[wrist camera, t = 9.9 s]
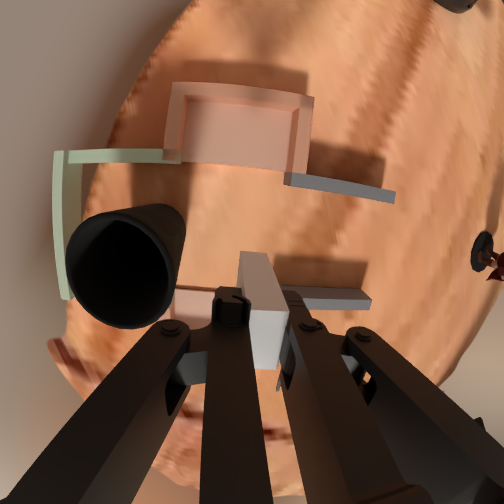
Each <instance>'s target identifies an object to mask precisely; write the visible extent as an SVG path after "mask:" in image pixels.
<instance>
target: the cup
mask: <svg viewBox="0 0 504 504" xmlns="http://www.w3.org/2000/svg"><path fill="white" fill-rule="evenodd" d="M185 236H186V228H185V223H184V221H183V218H182V217H181V215H180V214H179V213H178V212H177V211H176V210H175V209H174V208H172V207H170V206H168V205H165V204H150V205H144V206H138V207H132V208H126V209H121V210H115V211H110V212H104V213H100V214H97V215H95V216H92V217H89V218H88V219H86V220H85V221H84V222H82V223H81V224H80V225H79V226H78V227H77V228H76V230H75V231H74V232H73V234H72V235H71V237H70V240H69V242H68V245H67V248H66V255H65V268H66V276H67V279H68V282H69V285H70V288H71V290H72V292H73V294H74V296H75V297H76V299H77V301H78V302H79V303H80V304H81V305H82V307H83V308H84V309H85V310H86V311H87V312H88V313H89V314H91V315H92V316H93V317H94V318H96V319H97V320H99V321H101V322H103V323H105V324H107V325H109V326H112V327H116V328H119V329H137V328H143V327H146V326H148V325H150V324H152V323H154V322H156V321H157V320H158V319H159V318H160V317H161V316H163V315H164V314H165V312H166V311H167V309H168V307H169V306H170V304H171V302H172V299H173V295H174V292H175V287H176V282H177V276H178V271H179V266H180V261H181V256H182V251H183V246H184V241H185Z"/></svg>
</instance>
